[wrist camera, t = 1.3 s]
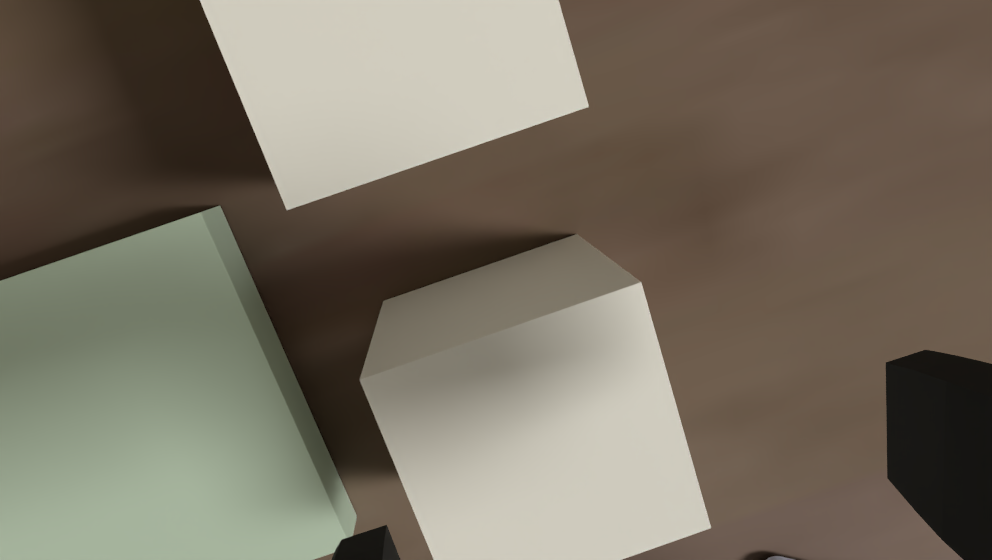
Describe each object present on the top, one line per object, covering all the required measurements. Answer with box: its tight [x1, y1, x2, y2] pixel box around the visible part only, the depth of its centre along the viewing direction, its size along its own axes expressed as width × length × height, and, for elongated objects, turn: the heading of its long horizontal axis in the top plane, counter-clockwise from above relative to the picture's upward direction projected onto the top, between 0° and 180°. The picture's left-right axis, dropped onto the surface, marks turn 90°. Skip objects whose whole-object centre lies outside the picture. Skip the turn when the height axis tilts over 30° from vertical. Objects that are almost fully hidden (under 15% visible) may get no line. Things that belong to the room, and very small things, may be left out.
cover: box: [200, 0, 589, 210], centre depth 14 cm, size 6×6×6 cm
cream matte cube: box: [360, 234, 711, 560], centre depth 16 cm, size 6×6×6 cm
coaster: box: [0, 206, 357, 560], centre depth 18 cm, size 10×10×2 cm
